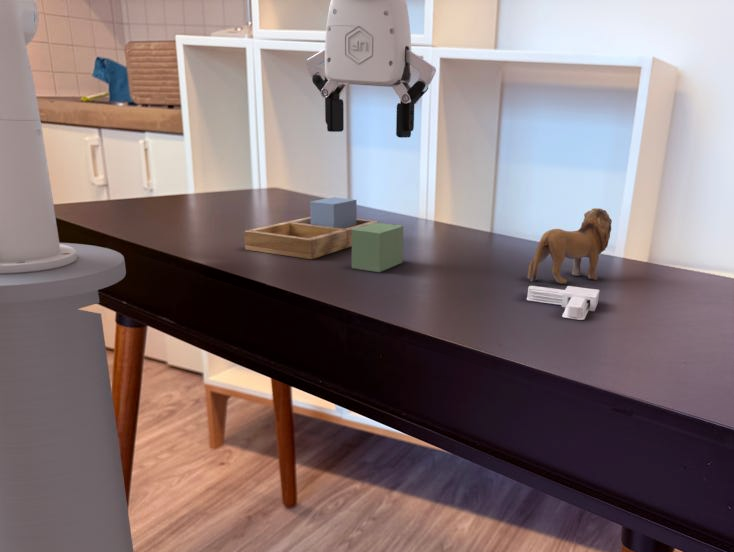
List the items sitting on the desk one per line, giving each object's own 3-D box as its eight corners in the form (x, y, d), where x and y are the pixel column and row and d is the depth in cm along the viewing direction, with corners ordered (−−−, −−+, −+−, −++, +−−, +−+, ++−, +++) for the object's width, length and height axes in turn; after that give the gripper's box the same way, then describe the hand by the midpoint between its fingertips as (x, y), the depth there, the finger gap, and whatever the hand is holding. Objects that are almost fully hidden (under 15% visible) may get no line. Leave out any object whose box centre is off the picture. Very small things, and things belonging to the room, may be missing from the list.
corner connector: (516, 311, 72) (517, 296, 71) (530, 294, 79) (532, 281, 79) (589, 321, 70) (591, 306, 70) (597, 303, 77) (599, 289, 77)
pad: (379, 272, 84) (380, 233, 83) (351, 268, 85) (351, 229, 84) (402, 262, 91) (403, 225, 89) (376, 258, 92) (376, 222, 90)
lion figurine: (583, 268, 95) (591, 205, 92) (614, 276, 92) (623, 210, 88) (515, 281, 85) (521, 210, 82) (548, 290, 81) (555, 216, 78)
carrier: (311, 259, 89) (311, 240, 88) (245, 249, 92) (244, 230, 91) (379, 237, 107) (379, 221, 106) (321, 230, 109) (321, 214, 109)
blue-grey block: (334, 238, 99) (333, 204, 98) (310, 234, 101) (310, 201, 99) (356, 231, 106) (356, 199, 104) (334, 228, 107) (334, 197, 105)
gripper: (289, -24, 78) (294, 129, 84) (425, -21, 74) (420, 140, 80) (321, -12, 85) (324, 129, 91) (448, -9, 81) (442, 139, 87)
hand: (369, 134), depth 86 cm, fingers open, 9 cm apart
